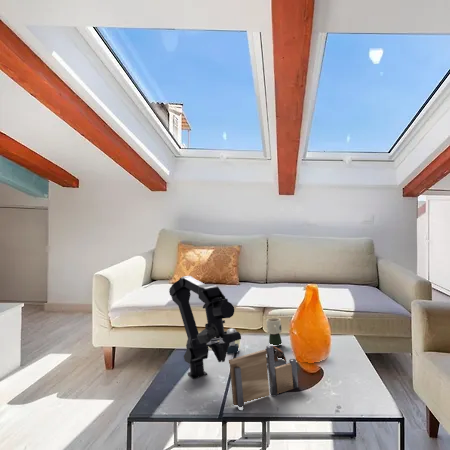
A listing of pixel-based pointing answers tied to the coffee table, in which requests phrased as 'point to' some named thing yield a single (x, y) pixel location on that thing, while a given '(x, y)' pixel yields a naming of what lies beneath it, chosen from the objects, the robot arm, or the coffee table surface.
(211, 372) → the coffee table surface
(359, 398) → the coffee table surface
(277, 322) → the character mug
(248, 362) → the gate
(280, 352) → the pottery mug
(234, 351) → the grey bust figurine
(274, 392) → the gate frame
